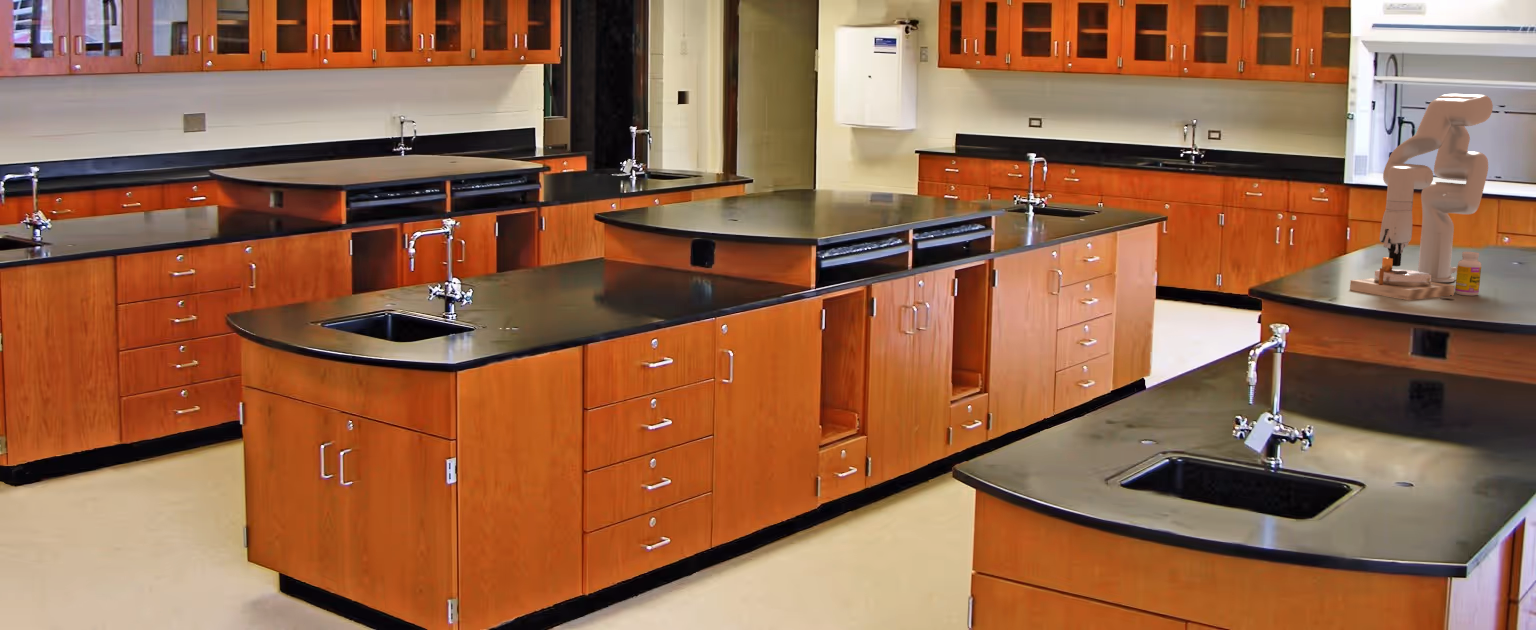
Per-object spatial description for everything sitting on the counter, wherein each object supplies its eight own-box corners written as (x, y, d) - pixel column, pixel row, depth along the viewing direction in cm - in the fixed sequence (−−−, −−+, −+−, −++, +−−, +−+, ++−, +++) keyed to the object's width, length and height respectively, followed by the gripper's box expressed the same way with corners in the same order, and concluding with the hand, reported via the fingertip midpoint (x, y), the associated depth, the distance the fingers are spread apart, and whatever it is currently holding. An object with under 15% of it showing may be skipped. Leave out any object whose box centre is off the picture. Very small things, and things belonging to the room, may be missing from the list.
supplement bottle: (1468, 296, 470) (1472, 254, 467) (1449, 293, 475) (1453, 251, 473) (1483, 295, 473) (1487, 253, 470) (1464, 292, 478) (1468, 250, 476)
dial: (1441, 284, 473) (1443, 261, 472) (1411, 288, 464) (1413, 265, 463) (1393, 277, 486) (1395, 255, 485) (1363, 281, 477) (1365, 258, 475)
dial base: (1395, 285, 490) (1397, 260, 488) (1453, 295, 472) (1456, 269, 470) (1349, 289, 479) (1351, 264, 478) (1407, 300, 461) (1410, 273, 460)
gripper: (1403, 204, 484) (1398, 262, 488) (1373, 206, 476) (1368, 266, 480) (1424, 206, 478) (1419, 265, 481) (1394, 209, 470) (1389, 269, 473)
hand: (1394, 265), depth 480 cm, fingers closed
